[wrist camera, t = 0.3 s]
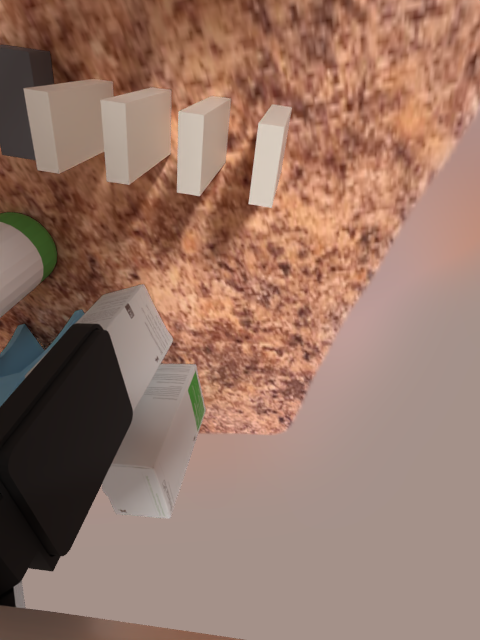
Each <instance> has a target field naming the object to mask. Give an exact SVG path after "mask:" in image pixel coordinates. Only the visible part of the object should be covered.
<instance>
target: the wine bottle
mask: <svg viewBox="0 0 480 640" xmlns="http://www.w3.org/2000/svg"><path fill="white" fill-rule="evenodd" d="M56 262H57V251H56V246H55V243H54V241H53V239H52V237H51V236H50V234H49V233H48V232H47V230H46V229H45V228H44V227H43V226H42V225H41V224H40V223H38V222H37V221H35V220H34V219H32V218H31V217H29V216H26V215H23V214H20V213H13V212H6V213H1V214H0V318H1V317H2V316H3V315H4V314H5V313H6V312H8V311H9V310H10V309H11V308H12V307H13V306H15V305H16V304H17V303H18V302H19V301H20V300H22V299H23V298H24V297H25V296H26V295H27V294H29V293H30V292H31V291H32V290H33V289H34V288H35V287H36V286H37V285H39V284H40V283H41V282H42V281H43V280H44V279H45V278H47V277H48V275H49V274H50V273H51V272H52V271H53V269H54V267H55V265H56Z"/></svg>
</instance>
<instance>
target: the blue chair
mask: <svg viewBox="0 0 480 640" xmlns="http://www.w3.org/2000/svg"><path fill="white" fill-rule="evenodd" d="M84 314H85V313H84V312H83V310H82V309H81V310H77V311H75V312H74V314H73V315H72V316H71V318H70V319H69V321H68V322H67V324H66V325H65V327H64V328H63V329H62V331H61V332H60V333H59V335H58V336H57V337H56V339H55V340H54V341H53V342H52V343H51V345H50V346H49V347H48V348H47V349H46V350H45V351H44V349H43V348H42V347H41V345H40V344H39V342H38V341H37V340H36V338H35V337H34V336H33V334H32V333H31V332H30V330H29V329H28V327H27V326H26V325H25V324H22V325H18V326H17V328H16V330H15V332H14V334H13V336H12V338H11V340H10V341H9V343H8V344H7V346H6V347H5V349H4V350H3V351H2V352H1V353H0V407H1V405H2V404H3V403H4V402H5V401H6V400H7V399H8V397H9V396H10V395H11V394H12V393H13V392H14V391H15V389H16V388H17V387H18V386H19V385H20V384H21V383H22V381H23V380H24V379H25V375H26V374H27V373H28V372H29V371H30V370H31V369H32V368H33V367H34V366H35V365H36V364H37V363H38V362H39V361H40V359H41V358H42V357H43V356H44V355H45V354H46V353H47V352H48V351H49V350H50V349H51V348H52V347H53V346H54V345H55V344H56V343H57V342H58V340H59V339H60V338H61V337H62V336H63V335H64V334H65V332H66V331H67V330H68V329H69V328H70V327H71V326H72V325H73V324H75V323H76V322H77V321H78V320H79V319H80V318H81V317H82V316H83V315H84Z"/></svg>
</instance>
